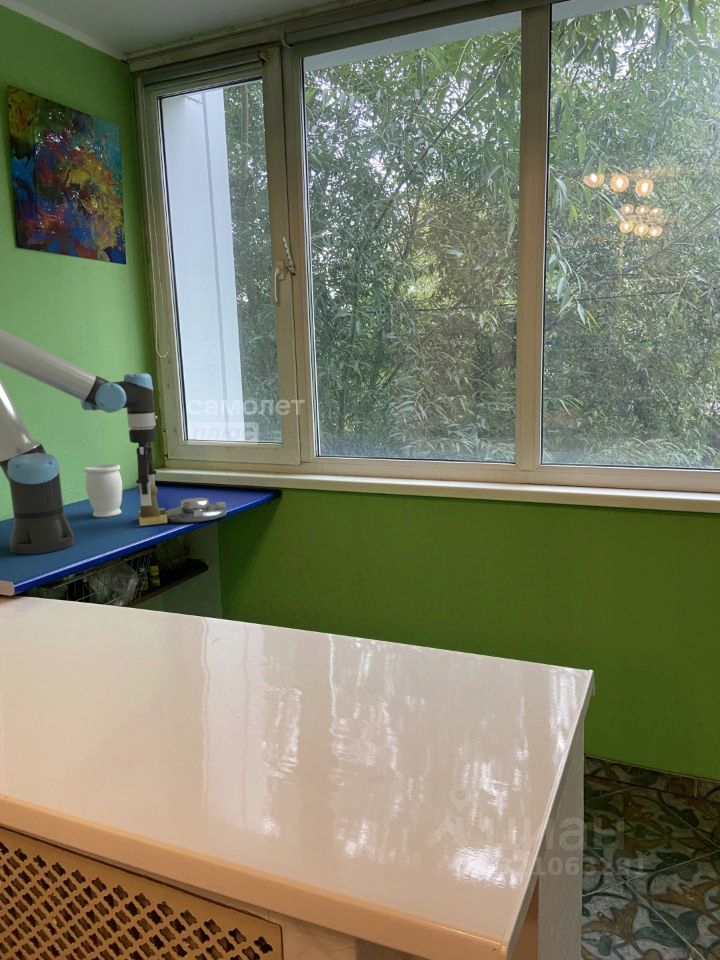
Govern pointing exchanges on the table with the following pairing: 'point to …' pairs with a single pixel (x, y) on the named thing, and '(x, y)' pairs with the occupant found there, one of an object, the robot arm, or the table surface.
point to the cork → (153, 508)
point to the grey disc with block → (187, 512)
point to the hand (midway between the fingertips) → (148, 501)
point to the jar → (104, 489)
